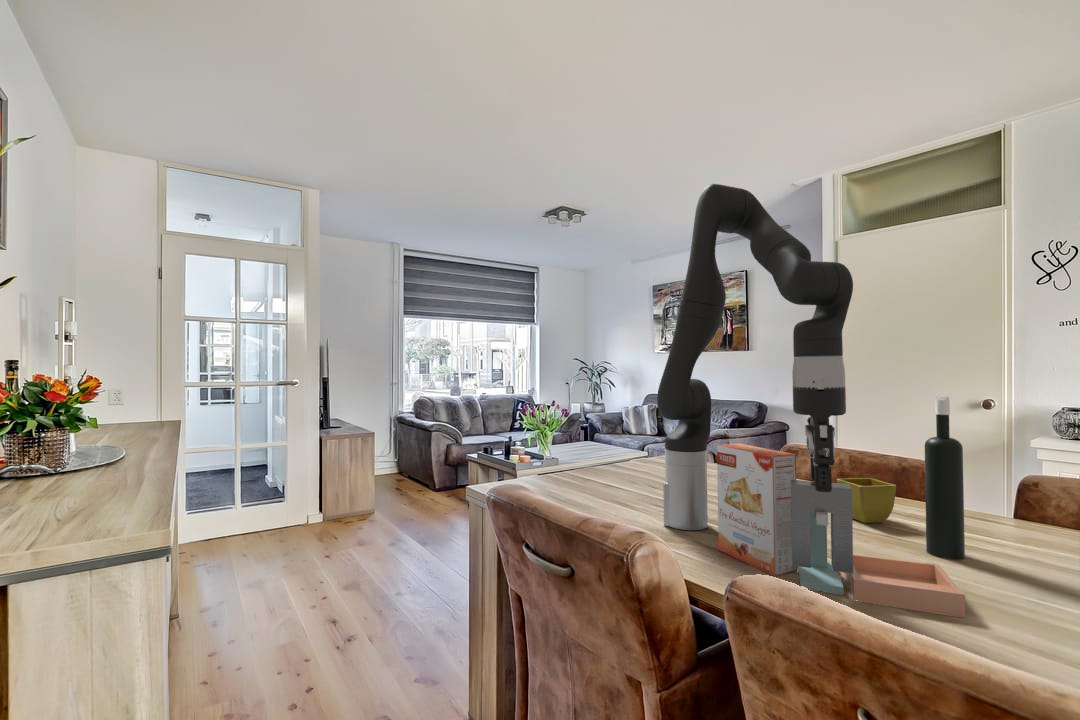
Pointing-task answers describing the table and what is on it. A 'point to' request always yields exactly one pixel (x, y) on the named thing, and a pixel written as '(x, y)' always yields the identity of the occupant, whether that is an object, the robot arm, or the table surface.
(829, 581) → the peg stand
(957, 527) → the wine bottle
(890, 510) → the flower pot
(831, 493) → the grey arch block
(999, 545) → the table surface
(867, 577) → the tray
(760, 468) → the cracker box
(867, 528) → the table surface
